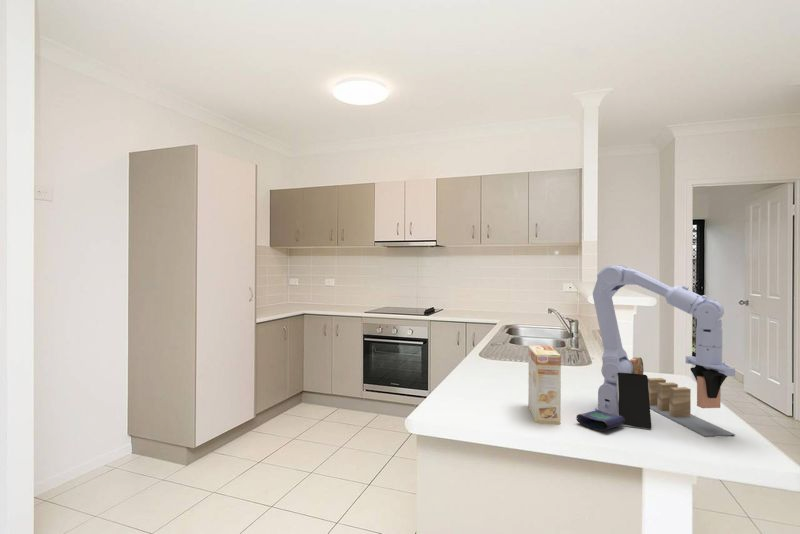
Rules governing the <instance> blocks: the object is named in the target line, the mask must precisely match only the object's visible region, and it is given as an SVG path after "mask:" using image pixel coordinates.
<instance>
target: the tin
mask: <svg viewBox="0 0 800 534" xmlns="http://www.w3.org/2000/svg"><path fill="white" fill-rule="evenodd" d="M629 361H630V362H631V363H632V365H633V372H632V374H642V375H644V362H643V359H642V357H632V358H631V359H629Z"/></svg>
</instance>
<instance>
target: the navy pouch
mask: <svg viewBox="0 0 800 534" xmlns="http://www.w3.org/2000/svg"><path fill="white" fill-rule="evenodd" d="M575 418H576V421H577V423H579V424H580V425H583V426H585V427H587V428H588V429H589V428H590V429H592V430H595V431H601V432H602V431H603V432H604V431H607V430H610V429H613V428H615V427H619V426H620V425H623V424H624V423H625V419H624V417H623V416H620V415H613V414H608V413H605V412H601V411H599V410H591V411H588V412H583V413H579V414H577V415H576V417H575Z"/></svg>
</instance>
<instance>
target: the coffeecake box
mask: <svg viewBox="0 0 800 534" xmlns="http://www.w3.org/2000/svg"><path fill="white" fill-rule="evenodd" d="M561 359H562V356H561V354H560V353H559V352H558V351H556V350H555V348H553V347H552V346H550V345H531V344H529V345H528V401H527V402H528V405H527V406H528V409H529V411H530V413H532V414H531V416H532V419H533V420H534V422H535V423H538V424H551V425H552V424H553V425H561V404H562V403H561V398H562V397H561V395H562V393H561V392H562V391H561V384H562V382H561V379H562V376H561V375H562V374H561V373H562V372H561V369H562V367H561V366H562V365H561V363H562V360H561Z"/></svg>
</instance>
